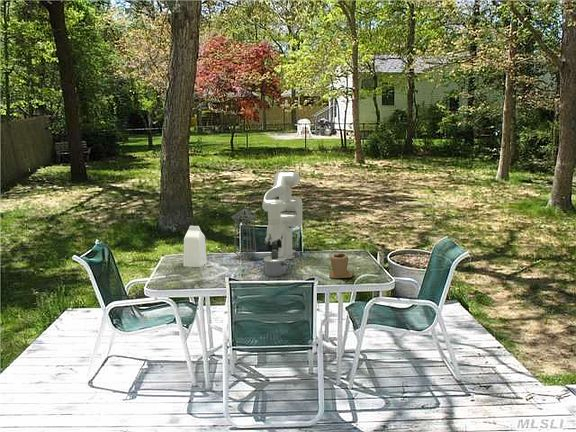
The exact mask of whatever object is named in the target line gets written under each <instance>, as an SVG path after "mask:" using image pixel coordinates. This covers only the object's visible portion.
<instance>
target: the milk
mask: <svg viewBox="0 0 576 432" xmlns="http://www.w3.org/2000/svg"><path fill="white" fill-rule="evenodd" d="M206 263H207V264H208V258H207V247H206V235H205V234H204V233H203V232H202V230H201V228H200V226H199V225H189V227H188V229H187V231H186V233H185V236H184V238H183V265H182V266H183V267H190V268H191V267H192V268H202V267H203V266H205V265H206ZM204 264H205V265H204ZM201 266H202V267H201Z"/></svg>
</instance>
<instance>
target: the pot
mask: <svg viewBox="0 0 576 432" xmlns="http://www.w3.org/2000/svg"><path fill="white" fill-rule="evenodd" d="M285 261H286V260H285ZM285 261H282V262H267V261H264V259H263V260H262V263H264V275H265V276H268V277H281V276H284V275H285V270H286V268H285V267H286V266H287V265H288V264H287V262H286V263H285Z"/></svg>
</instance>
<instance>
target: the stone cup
mask: <svg viewBox="0 0 576 432" xmlns="http://www.w3.org/2000/svg"><path fill="white" fill-rule="evenodd" d="M348 265H349V256H348V254H347V253H345V252H339V253H333V254H332V255H330V266H331V268H332V271H331V272H330V273H328V274H329V275H328V276H329V277H330V278H332V279H349V278H350V279H351V277H352V276H353V277H354V270H348ZM353 277H352V278H353Z"/></svg>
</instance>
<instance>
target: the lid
mask: <svg viewBox="0 0 576 432" xmlns="http://www.w3.org/2000/svg"><path fill="white" fill-rule="evenodd" d="M278 255H279V249H278V250H277V249H272V251H270V255H269V256H265V257H263V260H264V261H267V262H282V261H286V260H287V259H286V258H285V257H282V256H278Z"/></svg>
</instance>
